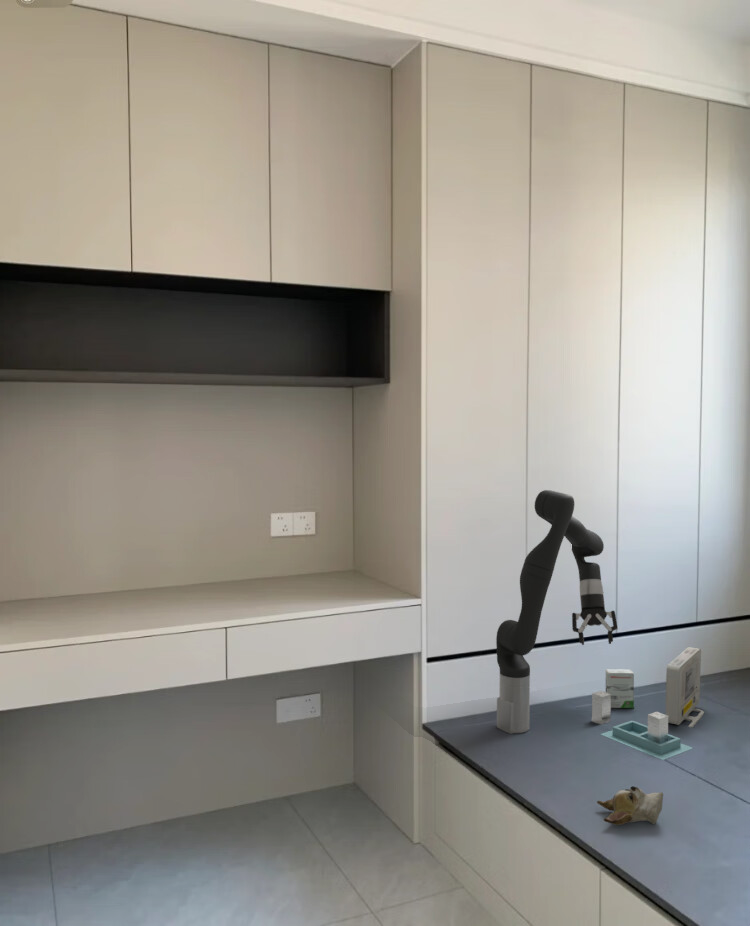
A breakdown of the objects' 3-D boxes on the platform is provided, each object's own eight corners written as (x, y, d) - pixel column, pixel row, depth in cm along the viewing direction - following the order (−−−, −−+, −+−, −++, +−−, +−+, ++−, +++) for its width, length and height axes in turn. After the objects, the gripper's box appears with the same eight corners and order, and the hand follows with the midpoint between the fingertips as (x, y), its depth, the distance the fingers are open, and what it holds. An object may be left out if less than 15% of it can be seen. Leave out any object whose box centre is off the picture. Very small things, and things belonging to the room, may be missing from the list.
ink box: (631, 703, 280) (631, 668, 279) (634, 708, 275) (634, 673, 274) (604, 702, 280) (605, 667, 280) (607, 707, 276) (607, 672, 275)
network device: (680, 703, 279) (682, 644, 278) (708, 709, 274) (709, 649, 273) (657, 727, 259) (659, 664, 257) (686, 734, 254) (688, 669, 252)
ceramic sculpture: (668, 796, 195) (602, 797, 197) (669, 832, 195) (604, 833, 197) (657, 776, 206) (595, 777, 207) (659, 810, 206) (597, 811, 208)
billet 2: (658, 749, 239) (659, 718, 238) (647, 744, 242) (647, 714, 241) (667, 746, 241) (668, 715, 240) (655, 741, 244) (656, 711, 244)
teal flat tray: (662, 765, 232) (662, 751, 232) (600, 739, 250) (600, 726, 250) (693, 753, 240) (693, 739, 240) (630, 728, 258) (630, 716, 258)
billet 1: (601, 725, 261) (602, 697, 260) (591, 721, 264) (592, 693, 263) (610, 722, 263) (610, 694, 262) (600, 718, 266) (600, 690, 266)
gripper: (568, 594, 276) (573, 643, 271) (613, 591, 272) (618, 641, 267) (570, 597, 283) (575, 646, 277) (614, 595, 279) (619, 644, 273)
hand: (596, 644), depth 272 cm, fingers open, 8 cm apart
